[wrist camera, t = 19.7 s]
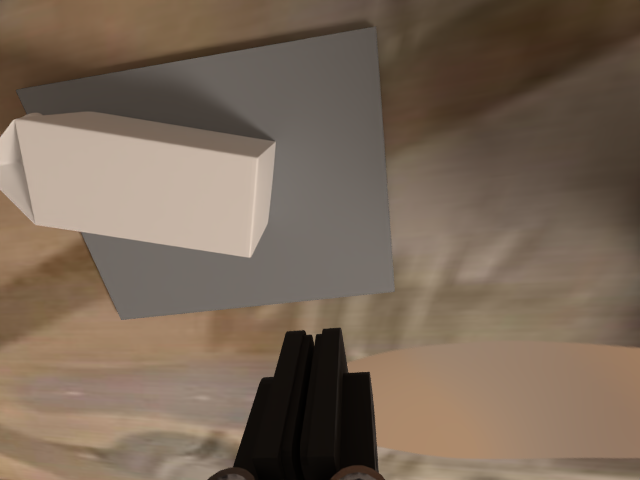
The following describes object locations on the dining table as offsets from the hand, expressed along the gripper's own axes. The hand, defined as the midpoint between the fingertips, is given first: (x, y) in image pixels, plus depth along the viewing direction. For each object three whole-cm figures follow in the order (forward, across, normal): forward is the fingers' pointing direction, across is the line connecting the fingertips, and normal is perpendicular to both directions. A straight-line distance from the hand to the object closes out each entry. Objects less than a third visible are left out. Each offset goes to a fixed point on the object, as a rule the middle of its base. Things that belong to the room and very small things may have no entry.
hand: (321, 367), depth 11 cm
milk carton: (+16, +5, -1) cm, 17 cm away
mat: (+20, +10, -1) cm, 23 cm away
